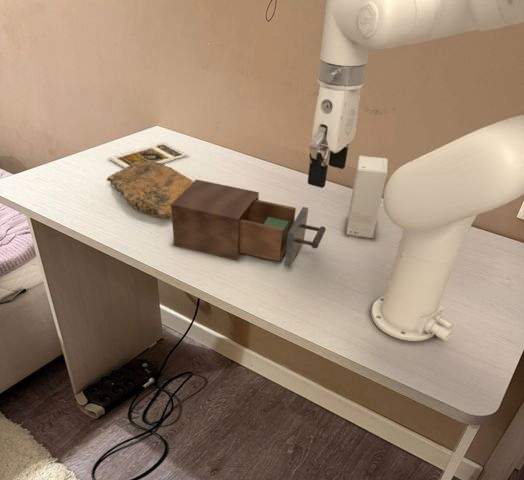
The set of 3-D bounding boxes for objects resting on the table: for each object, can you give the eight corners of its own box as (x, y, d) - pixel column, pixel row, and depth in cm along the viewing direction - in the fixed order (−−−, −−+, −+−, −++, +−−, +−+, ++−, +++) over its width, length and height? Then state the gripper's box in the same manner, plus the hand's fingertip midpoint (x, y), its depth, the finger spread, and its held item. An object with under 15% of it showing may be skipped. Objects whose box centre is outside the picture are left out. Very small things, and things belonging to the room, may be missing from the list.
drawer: (324, 244, 107) (330, 212, 101) (312, 272, 99) (317, 238, 93) (246, 227, 110) (247, 195, 105) (228, 253, 102) (228, 219, 97)
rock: (216, 183, 120) (165, 214, 106) (215, 203, 124) (165, 235, 110) (136, 150, 127) (78, 175, 113) (137, 170, 130) (81, 197, 117)
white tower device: (372, 239, 111) (388, 173, 100) (343, 235, 112) (356, 168, 101) (374, 221, 117) (389, 157, 106) (346, 217, 118) (359, 153, 107)
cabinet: (256, 231, 111) (258, 192, 104) (237, 260, 102) (238, 219, 95) (197, 218, 114) (196, 179, 107) (173, 245, 105) (170, 204, 98)
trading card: (109, 157, 133) (163, 142, 143) (109, 159, 134) (163, 144, 143) (131, 170, 128) (185, 154, 138) (131, 172, 129) (185, 155, 138)
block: (286, 240, 105) (288, 221, 102) (280, 251, 102) (282, 231, 99) (266, 235, 106) (268, 216, 103) (260, 246, 103) (261, 227, 100)
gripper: (343, 90, 72) (327, 199, 84) (380, 66, 83) (361, 165, 95) (297, 81, 74) (288, 188, 86) (339, 58, 86) (326, 156, 97)
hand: (326, 175), depth 91 cm, fingers open, 9 cm apart
